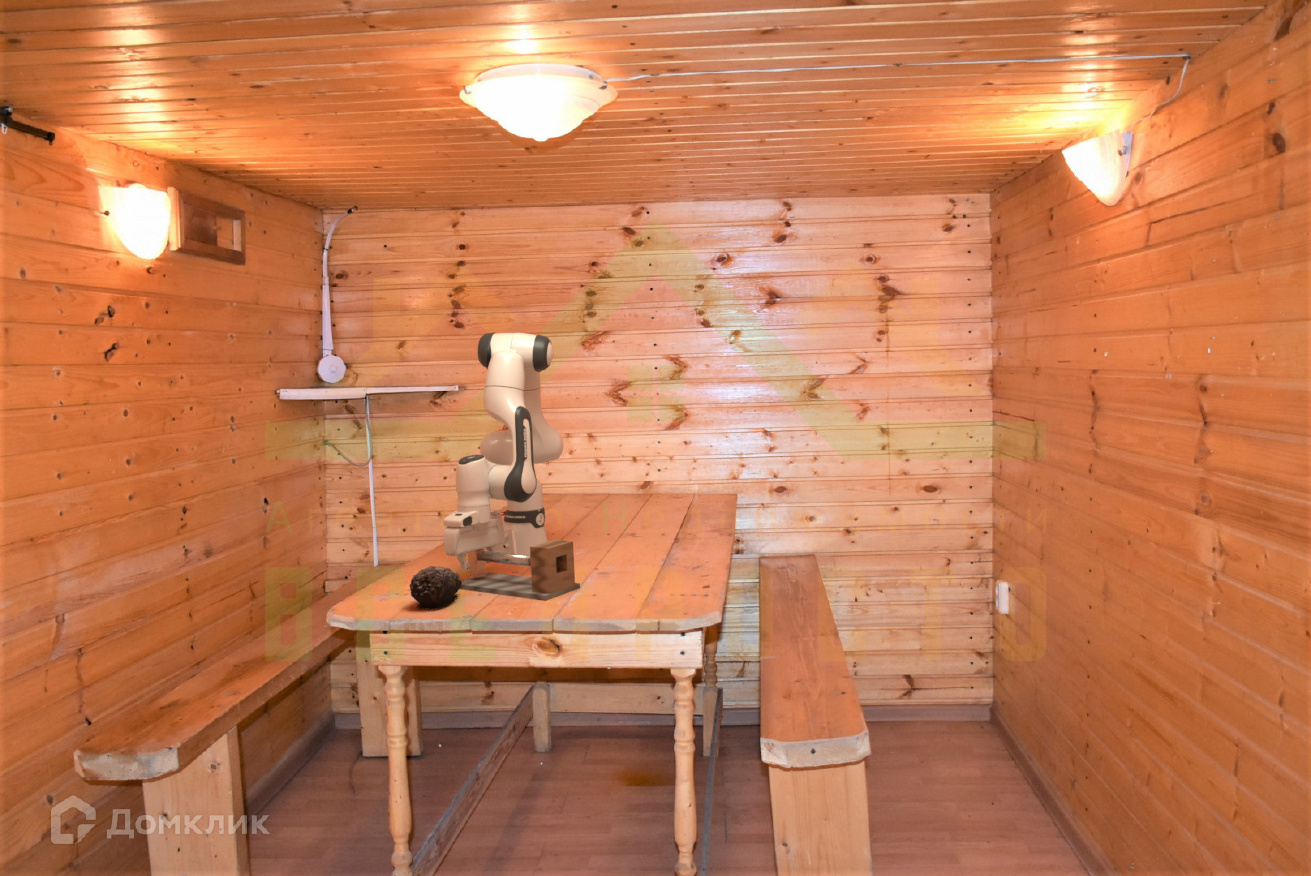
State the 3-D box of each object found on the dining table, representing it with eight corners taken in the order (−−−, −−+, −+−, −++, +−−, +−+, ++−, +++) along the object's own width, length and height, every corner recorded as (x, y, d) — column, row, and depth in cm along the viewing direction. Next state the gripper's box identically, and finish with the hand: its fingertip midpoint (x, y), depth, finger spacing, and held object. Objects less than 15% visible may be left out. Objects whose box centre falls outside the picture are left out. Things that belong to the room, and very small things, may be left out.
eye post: (452, 587, 248) (450, 540, 247) (489, 576, 260) (486, 531, 259) (545, 600, 231) (543, 550, 230) (580, 587, 242) (577, 539, 241)
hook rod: (469, 576, 252) (467, 550, 251) (477, 573, 255) (476, 548, 254) (528, 583, 240) (527, 556, 240) (536, 581, 243) (535, 554, 243)
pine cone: (467, 593, 242) (465, 555, 241) (447, 611, 224) (445, 570, 223) (428, 594, 242) (425, 556, 242) (405, 612, 225) (402, 571, 224)
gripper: (492, 509, 262) (494, 557, 263) (438, 520, 245) (441, 572, 246) (509, 510, 258) (511, 559, 259) (455, 522, 241) (458, 574, 242)
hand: (477, 565), depth 252 cm, fingers open, 8 cm apart
